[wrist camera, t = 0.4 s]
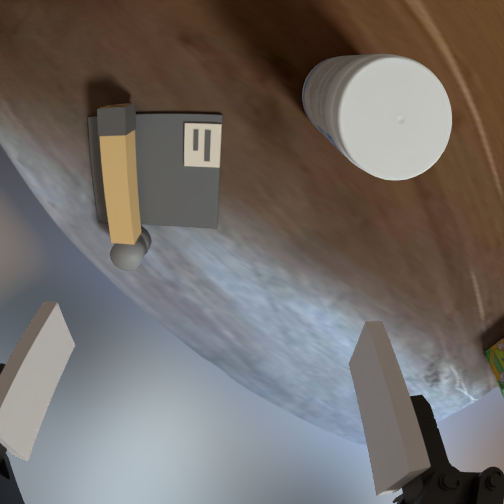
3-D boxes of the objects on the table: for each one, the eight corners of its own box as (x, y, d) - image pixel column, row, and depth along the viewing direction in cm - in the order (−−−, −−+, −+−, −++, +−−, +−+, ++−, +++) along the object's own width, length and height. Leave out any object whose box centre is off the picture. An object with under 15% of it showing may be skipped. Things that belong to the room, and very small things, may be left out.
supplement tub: (297, 132, 34) (323, 176, 21) (304, 50, 29) (338, 40, 16) (378, 142, 34) (440, 190, 22) (388, 65, 29) (462, 73, 17)
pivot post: (118, 223, 40) (115, 228, 39) (149, 225, 40) (147, 229, 39) (122, 251, 42) (119, 256, 41) (152, 254, 43) (150, 258, 42)
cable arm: (106, 104, 30) (93, 109, 28) (139, 102, 30) (128, 106, 28) (120, 256, 41) (112, 270, 38) (148, 258, 41) (141, 272, 39)
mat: (89, 116, 32) (87, 117, 32) (222, 114, 33) (222, 115, 32) (99, 220, 40) (98, 222, 39) (217, 227, 40) (217, 228, 40)
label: (186, 122, 33) (184, 123, 32) (222, 123, 33) (221, 124, 33) (185, 164, 36) (184, 166, 35) (219, 165, 36) (219, 167, 35)
